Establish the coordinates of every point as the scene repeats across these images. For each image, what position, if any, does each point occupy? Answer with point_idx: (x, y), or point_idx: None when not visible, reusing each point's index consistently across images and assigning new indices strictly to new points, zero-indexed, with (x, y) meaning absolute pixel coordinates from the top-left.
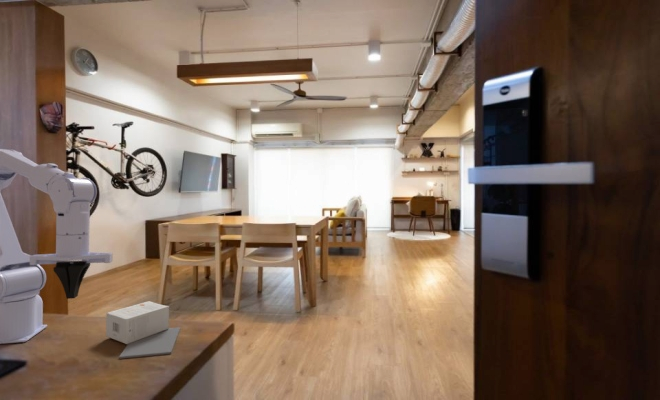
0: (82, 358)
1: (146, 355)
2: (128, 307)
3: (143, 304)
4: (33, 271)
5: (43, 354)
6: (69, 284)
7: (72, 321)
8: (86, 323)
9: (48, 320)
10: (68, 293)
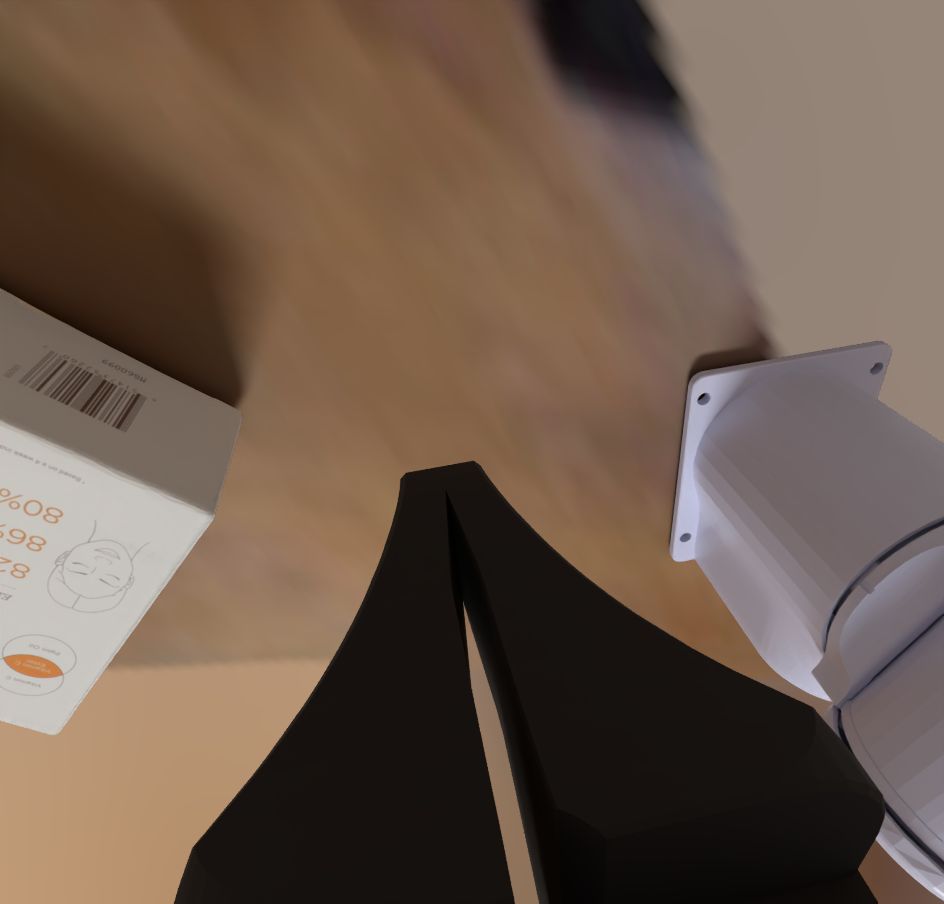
0: (179, 69)
1: None
2: (111, 619)
3: (35, 677)
4: None
5: (505, 185)
6: (479, 593)
7: None
8: None
9: (695, 620)
10: (459, 492)
